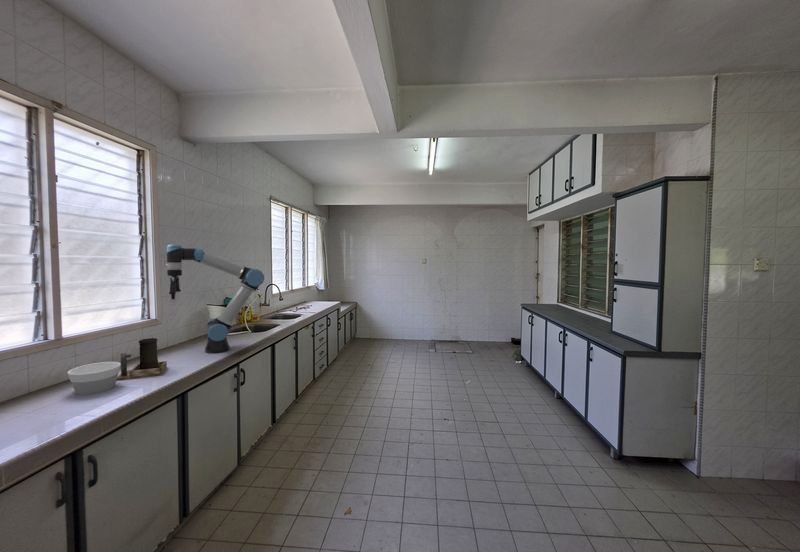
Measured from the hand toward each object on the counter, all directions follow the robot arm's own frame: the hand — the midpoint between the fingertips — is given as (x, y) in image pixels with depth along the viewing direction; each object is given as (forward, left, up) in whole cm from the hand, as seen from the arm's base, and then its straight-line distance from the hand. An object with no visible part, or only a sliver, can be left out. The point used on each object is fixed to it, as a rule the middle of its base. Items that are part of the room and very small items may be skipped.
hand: (175, 303), depth 203 cm
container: (+10, +20, -36) cm, 42 cm away
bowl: (+28, +37, -37) cm, 59 cm away
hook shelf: (+13, +21, -37) cm, 44 cm away
